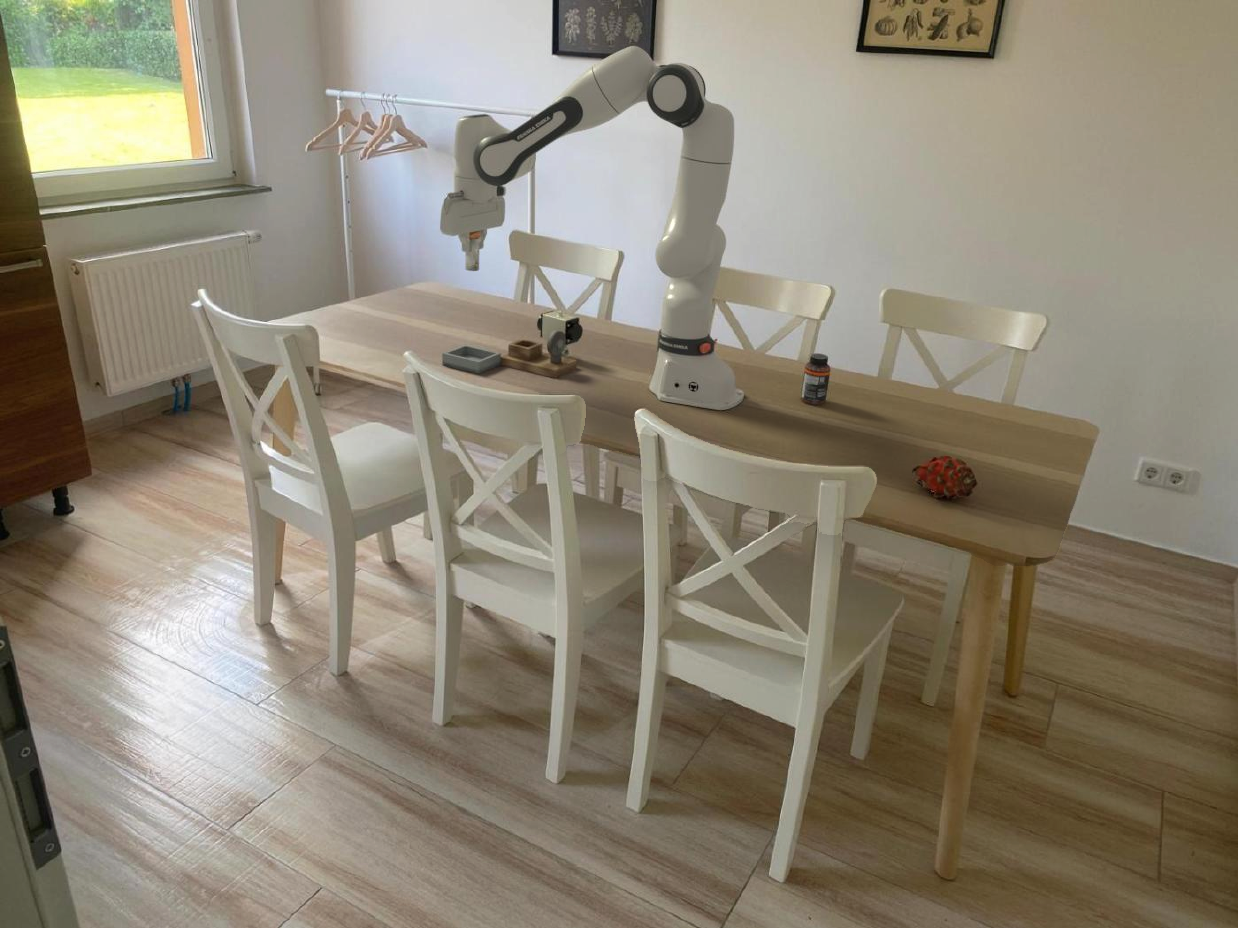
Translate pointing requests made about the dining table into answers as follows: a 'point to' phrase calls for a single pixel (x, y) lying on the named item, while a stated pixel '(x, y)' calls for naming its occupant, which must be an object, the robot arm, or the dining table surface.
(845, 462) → the dining table surface
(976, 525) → the dining table surface
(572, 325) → the pneumatic valve
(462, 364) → the parts tray
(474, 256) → the lock pin
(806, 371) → the supplement bottle
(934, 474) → the dragon fruit
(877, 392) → the dining table surface
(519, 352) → the wooden desk organizer
